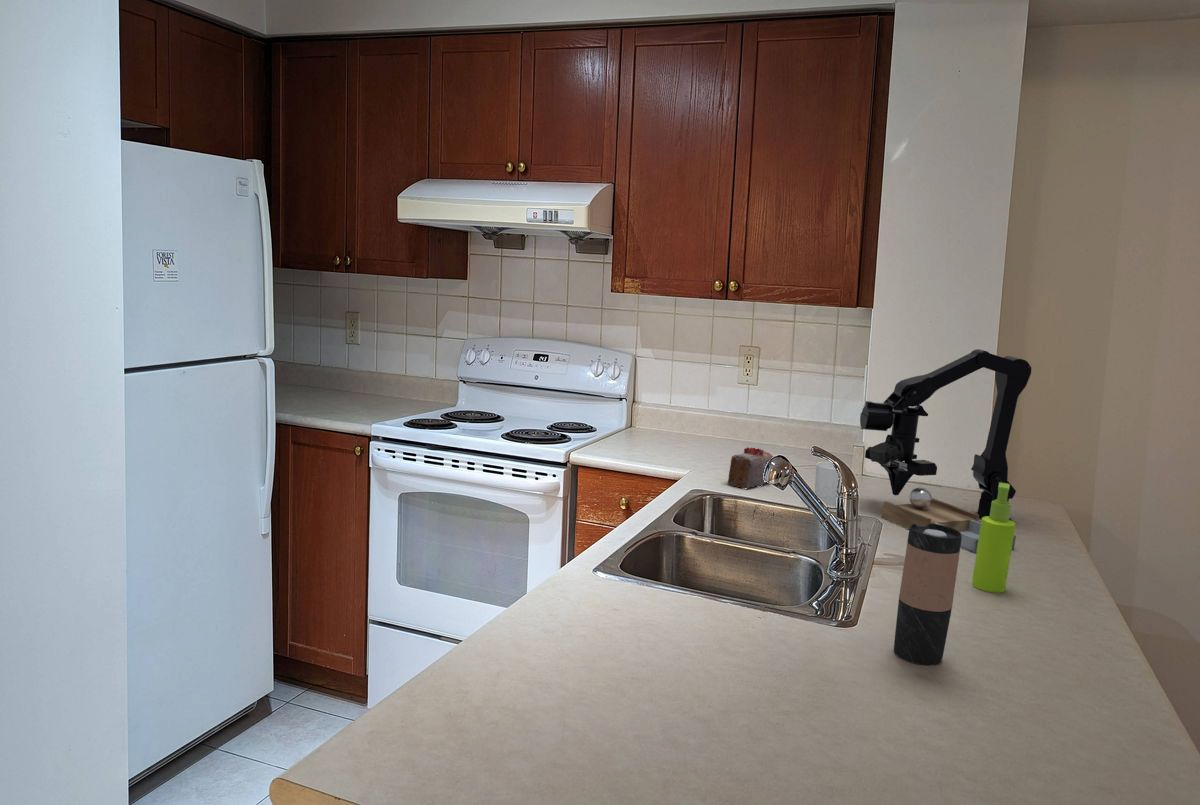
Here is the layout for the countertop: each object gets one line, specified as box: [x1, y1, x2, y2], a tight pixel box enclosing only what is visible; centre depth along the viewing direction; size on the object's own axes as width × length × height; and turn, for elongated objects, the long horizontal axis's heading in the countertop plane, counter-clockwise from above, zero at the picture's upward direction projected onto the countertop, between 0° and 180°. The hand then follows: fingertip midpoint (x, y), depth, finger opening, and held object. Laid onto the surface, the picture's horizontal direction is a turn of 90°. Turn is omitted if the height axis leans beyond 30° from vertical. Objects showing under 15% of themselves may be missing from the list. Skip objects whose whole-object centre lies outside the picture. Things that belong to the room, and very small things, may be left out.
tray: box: [934, 520, 1017, 554], centre depth 204 cm, size 12×12×3 cm
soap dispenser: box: [971, 482, 1016, 594], centre depth 174 cm, size 6×7×20 cm
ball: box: [908, 486, 933, 509], centre depth 217 cm, size 5×5×5 cm
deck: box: [881, 497, 980, 532], centre depth 215 cm, size 16×14×4 cm
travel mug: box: [893, 523, 962, 666], centre depth 139 cm, size 8×8×20 cm
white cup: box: [814, 461, 850, 507], centre depth 225 cm, size 8×8×10 cm
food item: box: [727, 446, 774, 490], centre depth 240 cm, size 14×8×10 cm, turn 143°
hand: (895, 494), depth 225 cm, fingers closed
